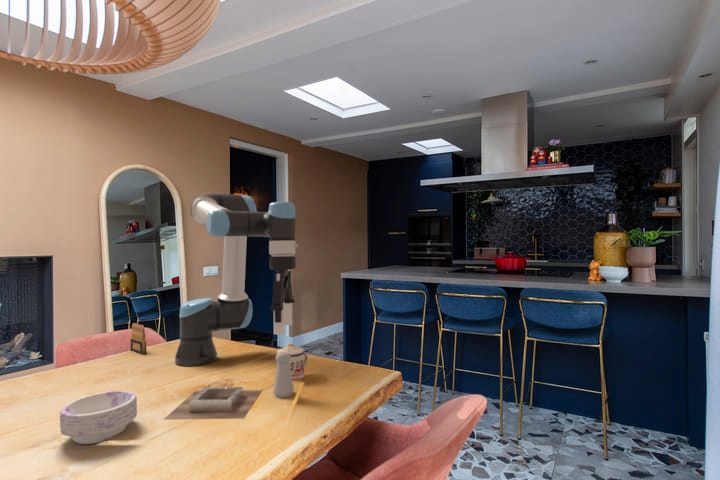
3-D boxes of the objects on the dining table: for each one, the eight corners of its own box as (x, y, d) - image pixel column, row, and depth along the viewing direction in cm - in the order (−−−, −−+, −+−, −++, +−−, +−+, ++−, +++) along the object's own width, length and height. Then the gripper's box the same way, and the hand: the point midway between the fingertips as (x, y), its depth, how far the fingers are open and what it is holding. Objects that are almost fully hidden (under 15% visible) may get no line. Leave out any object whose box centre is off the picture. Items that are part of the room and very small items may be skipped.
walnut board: (195, 394, 122) (195, 390, 122) (262, 393, 122) (262, 389, 122) (163, 423, 102) (163, 419, 102) (243, 422, 102) (243, 418, 102)
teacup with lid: (289, 384, 129) (288, 347, 130) (271, 378, 135) (270, 343, 135) (316, 375, 139) (316, 340, 139) (298, 370, 144) (298, 337, 145)
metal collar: (204, 396, 117) (204, 387, 117) (243, 395, 117) (243, 386, 117) (189, 411, 106) (189, 402, 106) (231, 411, 106) (231, 401, 106)
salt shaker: (291, 401, 115) (291, 355, 115) (271, 402, 115) (271, 355, 115) (295, 394, 121) (294, 350, 121) (276, 394, 121) (275, 350, 121)
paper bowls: (42, 446, 90) (42, 410, 91) (102, 418, 105) (102, 387, 105) (97, 455, 86) (96, 417, 87) (151, 424, 101) (151, 392, 101)
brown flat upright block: (130, 350, 174) (130, 322, 174) (134, 349, 176) (134, 322, 176) (141, 354, 168) (141, 325, 168) (146, 353, 169) (146, 324, 169)
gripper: (288, 256, 106) (289, 338, 106) (301, 254, 131) (302, 321, 131) (259, 256, 106) (260, 338, 106) (278, 255, 131) (278, 321, 130)
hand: (283, 329), depth 118 cm, fingers open, 13 cm apart
